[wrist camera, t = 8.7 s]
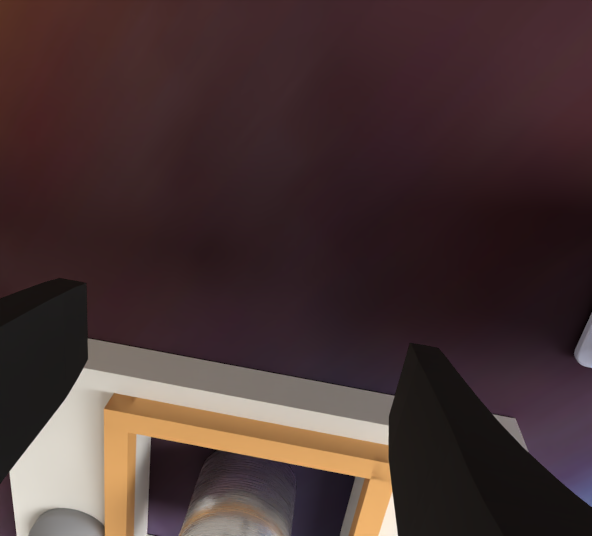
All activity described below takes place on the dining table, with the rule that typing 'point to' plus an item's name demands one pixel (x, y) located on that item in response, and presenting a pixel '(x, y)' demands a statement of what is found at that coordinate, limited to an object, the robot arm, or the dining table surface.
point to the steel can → (241, 497)
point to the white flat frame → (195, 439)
